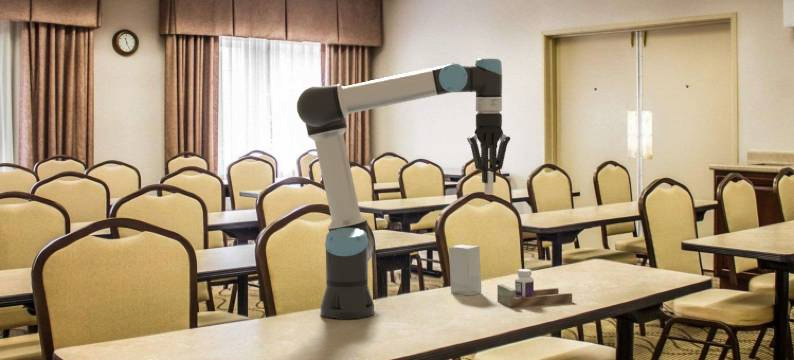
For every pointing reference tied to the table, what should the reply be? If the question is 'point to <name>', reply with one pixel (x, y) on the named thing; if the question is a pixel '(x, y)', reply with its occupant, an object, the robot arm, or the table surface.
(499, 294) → the rail
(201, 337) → the table surface
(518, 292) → the pill bottle
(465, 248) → the skincare box
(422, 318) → the table surface
